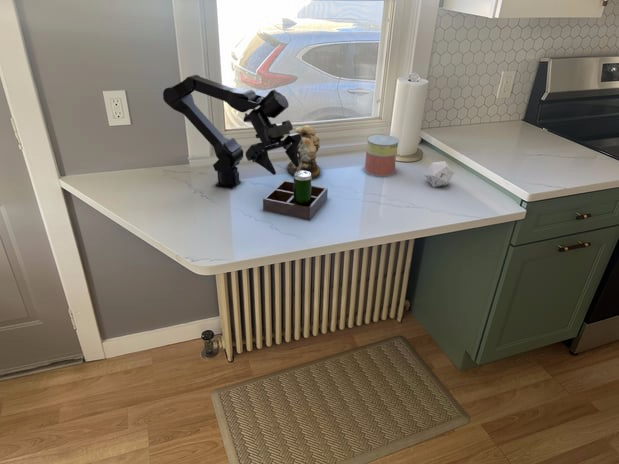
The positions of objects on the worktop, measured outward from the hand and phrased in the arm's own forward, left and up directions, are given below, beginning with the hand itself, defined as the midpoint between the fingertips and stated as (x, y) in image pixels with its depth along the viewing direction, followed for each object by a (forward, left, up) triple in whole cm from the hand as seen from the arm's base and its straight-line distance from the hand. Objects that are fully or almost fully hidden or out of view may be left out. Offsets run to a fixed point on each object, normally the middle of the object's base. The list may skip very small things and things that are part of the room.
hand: (286, 170), depth 143 cm
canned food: (+21, +39, -12) cm, 46 cm away
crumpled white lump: (+43, +35, -12) cm, 57 cm away
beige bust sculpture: (-5, +27, -12) cm, 30 cm away
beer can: (+7, -3, -11) cm, 13 cm away
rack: (+3, 0, -11) cm, 12 cm away
